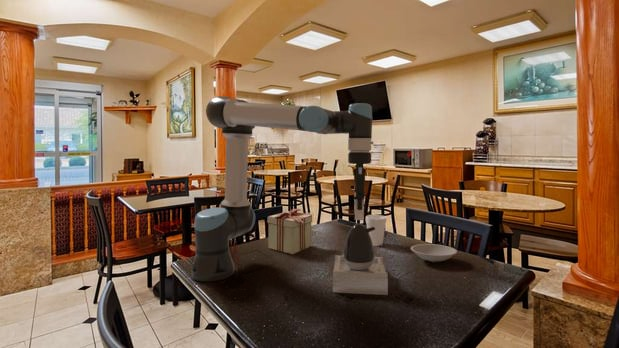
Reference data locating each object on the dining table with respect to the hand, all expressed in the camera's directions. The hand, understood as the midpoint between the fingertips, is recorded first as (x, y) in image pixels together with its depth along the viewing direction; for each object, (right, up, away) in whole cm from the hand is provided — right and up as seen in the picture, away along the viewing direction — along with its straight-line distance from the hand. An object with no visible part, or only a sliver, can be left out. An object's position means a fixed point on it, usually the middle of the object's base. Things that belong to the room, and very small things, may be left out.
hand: (358, 215), depth 106 cm
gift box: (-24, -20, +40) cm, 51 cm away
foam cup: (+15, -20, +44) cm, 51 cm away
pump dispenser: (0, -18, +2) cm, 18 cm away
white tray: (+1, -23, +5) cm, 23 cm away
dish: (+33, -22, +21) cm, 45 cm away
